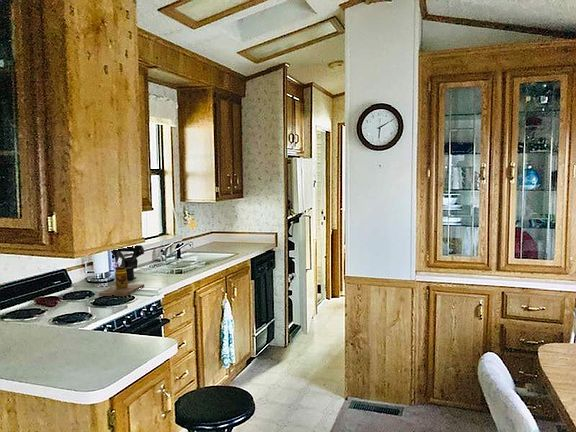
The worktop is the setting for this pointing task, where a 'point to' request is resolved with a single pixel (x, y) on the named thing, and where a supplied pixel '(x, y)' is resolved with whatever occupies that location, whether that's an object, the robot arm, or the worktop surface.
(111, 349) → the worktop surface
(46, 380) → the worktop surface
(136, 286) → the walnut board
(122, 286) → the yellow black cylinder
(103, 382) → the worktop surface
